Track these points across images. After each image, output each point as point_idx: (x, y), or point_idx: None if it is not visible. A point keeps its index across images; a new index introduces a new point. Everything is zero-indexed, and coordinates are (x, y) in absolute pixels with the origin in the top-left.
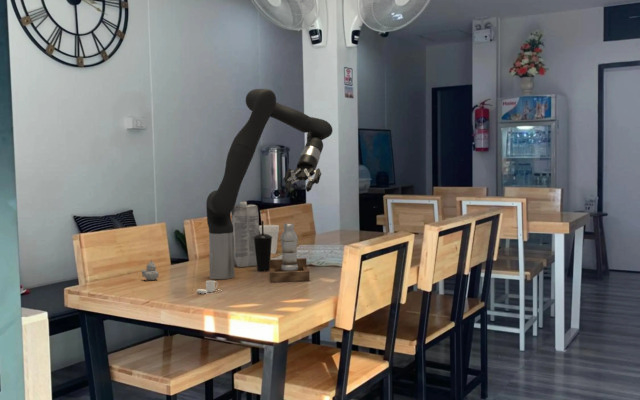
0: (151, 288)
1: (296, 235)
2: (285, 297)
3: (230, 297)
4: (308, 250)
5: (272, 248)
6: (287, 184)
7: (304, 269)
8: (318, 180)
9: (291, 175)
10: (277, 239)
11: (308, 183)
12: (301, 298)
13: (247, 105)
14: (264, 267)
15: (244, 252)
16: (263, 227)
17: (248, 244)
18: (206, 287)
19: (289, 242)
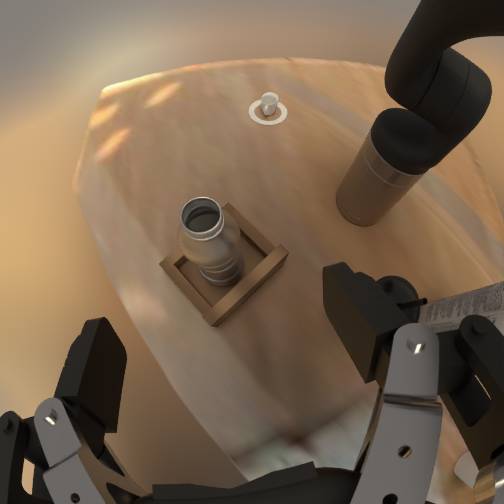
0: (360, 98)
1: (179, 241)
2: (134, 145)
3: (210, 104)
4: None
5: (462, 466)
6: (361, 289)
7: (184, 279)
8: (35, 470)
9: (438, 405)
10: (468, 484)
11: (73, 364)
12: (110, 154)
13: None
14: None
15: (432, 312)
16: (409, 306)
17: (440, 322)
18: (270, 102)
19: (192, 219)
